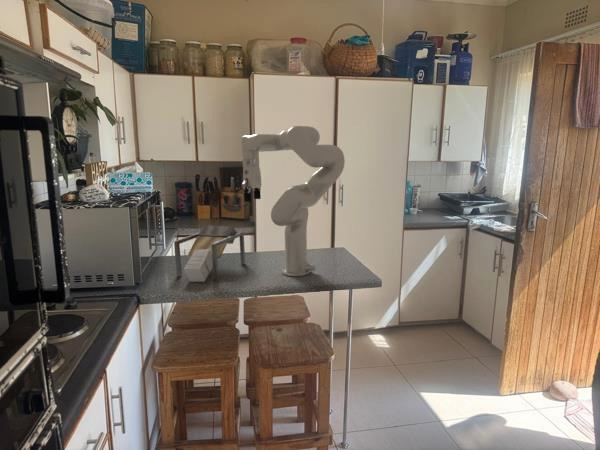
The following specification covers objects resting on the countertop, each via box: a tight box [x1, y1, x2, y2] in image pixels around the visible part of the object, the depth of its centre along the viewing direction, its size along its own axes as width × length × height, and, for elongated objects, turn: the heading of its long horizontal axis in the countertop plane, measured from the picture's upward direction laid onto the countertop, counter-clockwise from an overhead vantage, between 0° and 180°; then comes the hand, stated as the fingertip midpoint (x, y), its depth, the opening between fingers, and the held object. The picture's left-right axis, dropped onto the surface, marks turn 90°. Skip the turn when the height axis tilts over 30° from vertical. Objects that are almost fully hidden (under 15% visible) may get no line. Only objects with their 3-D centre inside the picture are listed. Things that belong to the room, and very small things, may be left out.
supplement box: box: [183, 249, 213, 283], centre depth 165 cm, size 7×7×13 cm
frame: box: [173, 230, 246, 282], centre depth 177 cm, size 20×25×16 cm
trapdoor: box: [187, 224, 237, 259], centre depth 178 cm, size 16×17×5 cm
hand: (252, 200), depth 183 cm, fingers open, 9 cm apart
